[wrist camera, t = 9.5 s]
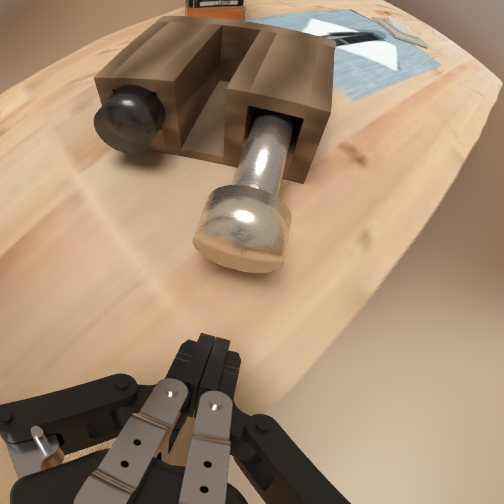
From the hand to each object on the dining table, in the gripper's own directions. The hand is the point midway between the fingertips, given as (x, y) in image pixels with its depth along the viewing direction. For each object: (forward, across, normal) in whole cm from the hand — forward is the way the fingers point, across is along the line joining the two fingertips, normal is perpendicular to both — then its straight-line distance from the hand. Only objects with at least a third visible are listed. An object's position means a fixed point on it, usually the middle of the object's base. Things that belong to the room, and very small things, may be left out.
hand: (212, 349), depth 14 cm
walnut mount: (+22, +6, -12) cm, 25 cm away
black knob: (+18, +12, -12) cm, 25 cm away
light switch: (+61, -23, -50) cm, 82 cm away
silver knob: (+13, 0, -7) cm, 14 cm away
